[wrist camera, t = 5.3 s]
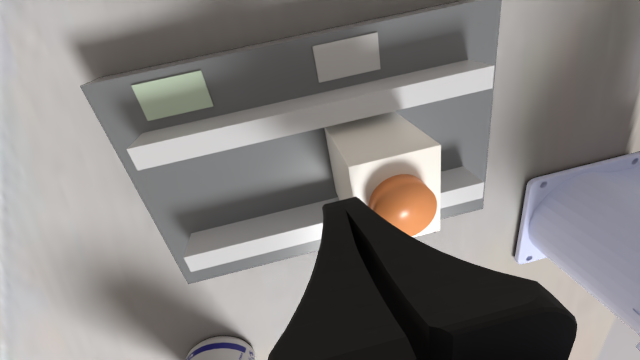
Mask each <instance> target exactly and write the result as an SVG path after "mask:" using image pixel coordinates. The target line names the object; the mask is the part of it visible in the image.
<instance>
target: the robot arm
mask: <svg viewBox="0 0 640 360" xmlns="http://www.w3.org/2000/svg"><path fill="white" fill-rule="evenodd" d="M541 183H542V184H541ZM322 211H323V229H322V236H321V242H320V247H319V251H318V255H317V259H316V263H315V266H314V269H313V272H312V275H311V278H310V281H309V283H308V285H307V288H306V290H305V293H304V295H303V297H302V299H301V302H300V304H299V305H298V307H297V309H296V311H295V313H294V315H293V317H292V319H291V321H290V322H289V324H288V326H287V328H286V329H285V331H284V332H283V334H282V336H281V337H280V339H279V340H278V342H277V343H276V345H275V346H274V348H273V349H272V351H271V353H270V354H269V357H268V360H568V358H569V355H570V352H571V349H572V346H573V343H574V341H575V338H576V332H577V323H576V319H575V317H574V316H573V315H572V314H571V313H570V312H569V311H568V310H567V309H566V308H565V307H564V306H563V305H562V304H561V303H560V302H559V301H558V300H557V299H556V298H555V297H554V296H553V295H552V294H551V293H550V292H549V291H547V290H546V289H545V288H544V287H543V286H542V285H540V284H539V283H538V282H537V281H533V280H529V279H525V278H521V277H517V276H513V275H509V274H505V273H501V272H497V271H494V270H490V269H487V268H484V267H481V266H478V265H475V264H472V263H469V262H466V261H463V260H461V259H458V258H456V257H453V256H451V255H448V254H446V253H443V252H441V251H439V250H436V249H434V248H432V247H430V246H428V245H426V244H424V243H422V242H420V241H418V240H416V239H415V238H413V237H411V236H409V235H408V234H406V233H405V232H403V231H401V230H400V229H398V228H397V227H395V226H394V225H392V224H391V223H389V222H388V221H387V220H385V219H384V218H382V217H381V216H380V215H378V214H377V213H376V212H375V211H373V210H372V209H371V208H370V207H368V206H367V205H366V204H365V203H364V202H362V201H361V200H360V199H359V198H357V197H352V198H348V199H344V200H340V201H336V202H332V203H328V204H324V205H323V207H322ZM543 258H549V259H550V260H551V261H552V262H553V263H554V264H556V265H557V266H558V267H559V268H560V269H562V270H563V271H564V272H565V273H566V274H567V275H569V276H570V277H571V278H572V279H573V280H574V281H576V282H577V283H578V284H579V285H580V286H582V287H583V288H584V289H585V290H586V291H587V292H589V293H590V294H591V295H592V296H593V297H594V298H596V299H597V300H598V301H599V302H600V303H602V304H603V305H604V306H605V307H606V308H607V309H609V310H610V311H611V312H612V313H613V314H614V315H616V316H617V317H618V318H619V319H620V320H622V321H623V322H624V323H625V324H626V325H627V326H629V327H630V328H631V329H632V330H633V331H635V332H636V333H637V334H638V335H639V336H640V151H639V152H635V153H631V154H627V155H623V156H619V157H616V158H612V159H608V160H604V161H600V162H596V163H592V164H588V165H584V166H580V167H576V168H572V169H568V170H564V171H560V172H556V173H552V174H548V175H544V176H540V177H536V178H533V179H531V180H530V181H529V182H528V184H527V188H526V194H525V200H524V206H523V212H522V218H521V224H520V230H519V236H518V242H517V248H516V254H515V261H516V262H517V263H518V264H524V263H528V262H532V261H536V260H539V259H543ZM636 348H637V349H638V350H639V351H640V342H639V343H638V344H637V345H636Z"/></svg>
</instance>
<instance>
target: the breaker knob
mask: <svg viewBox="0 0 640 360" xmlns="http://www.w3.org/2000/svg"><path fill="white" fill-rule="evenodd" d="M324 129H325V134H326V140H327V145H328V151H329V156H330V162H331V167H332V173H333V178H334V184H335V189H336V193H337V195H338V198H339V200H344V199H348V198H352V197H357V198H359V199H360V200H361V201H362V202H364V203H365V204H366V205H367V206H368V207H370V208H371V209H372V210H373V211H375V212H376V213H377V214H378V215H380V216H381V217H382V218H384V219H385V220H387V221H388V222H389V223H391V224H392V225H394V226H395V227H397V228H398V229H400V230H401V231H403V232H405V233H406V234H408V235H409V236H411V237H416V236H420V235H424V234H428V233H432V232H436V231H440V190H441V145H440V144H439V143H438V142H436V141H435V140H433V139H432V138H431V137H429V136H428V135H427V134H425V133H424V132H422V131H421V130H420V129H418V128H417V127H416V126H414V125H413V124H412V123H410V122H409V121H407V120H406V119H405V118H403V117H402V116H401V115H399V114H398V113H396V112H395V111H392V112H388V113H384V114H379V115H375V116H371V117H367V118H362V119H358V120H354V121H349V122H345V123H341V124H336V125H332V126H328V127H324Z"/></svg>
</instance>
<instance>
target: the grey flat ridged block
mask: <svg viewBox="0 0 640 360" xmlns="http://www.w3.org/2000/svg"><path fill="white" fill-rule="evenodd" d="M501 1H502V0H462V1H457V2H453V3H448V4H443V5H439V6H434V7H429V8H425V9H420V10H415V11H411V12H406V13H401V14H396V15H392V16H387V17H382V18H378V19H373V20H368V21H364V22H359V23H354V24H350V25H345V26H340V27H336V28H331V29H326V30H321V31H317V32H312V33H307V34H303V35H298V36H293V37H289V38H284V39H279V40H275V41H270V42H265V43H261V44H256V45H251V46H246V47H242V48H237V49H232V50H228V51H223V52H218V53H214V54H209V55H204V56H200V57H195V58H190V59H186V60H181V61H176V62H171V63H167V64H162V65H157V66H153V67H148V68H143V69H139V70H134V71H129V72H125V73H120V74H115V75H111V76H106V77H101V78H99V79H96V80H94V81H91V82H89V83H86V84H84V85H81V86H80V87H81V89H82V91H83V93H84V95H85V96H86V98H87V100H88V102H89V104H90V105H91V107H92V109H93V111H94V113H95V115H96V116H97V118H98V120H99V122H100V124H101V126H102V127H103V129H104V131H105V133H106V135H107V137H108V138H109V140H110V142H111V144H112V146H113V148H114V149H115V151H116V153H117V155H118V157H119V158H120V160H121V162H122V164H123V166H124V168H125V169H126V171H127V173H128V175H129V177H130V179H131V180H132V182H133V184H134V186H135V188H136V190H137V191H138V193H139V195H140V197H141V199H142V201H143V202H144V204H145V206H146V208H147V210H148V211H149V213H150V215H151V217H152V219H153V221H154V222H155V224H156V226H157V228H158V230H159V232H160V233H161V235H162V237H163V239H164V241H165V243H166V244H167V246H168V248H169V250H170V252H171V254H172V255H173V257H174V259H175V261H176V263H177V264H178V266H179V268H180V270H181V272H182V274H183V275H184V277H185V279H186V281H187V283H188V284H191V283H195V282H199V281H203V280H206V279H210V278H214V277H218V276H222V275H226V274H230V273H234V272H238V271H242V270H245V269H249V268H253V267H257V266H261V265H265V264H269V263H273V262H277V261H281V260H284V259H288V258H292V257H296V256H300V255H304V254H308V253H312V252H316V251H319V247H320V242H321V236H322V229H323V211H322V207H323V205H324V204H328V203H332V202H336V201H340V200H339V198H338V195H337V193H336V189H335V184H334V178H333V173H332V167H331V162H330V156H329V151H328V145H327V140H326V134H325V129H324V127H328V126H332V125H336V124H341V123H345V122H349V121H354V120H358V119H362V118H367V117H371V116H375V115H379V114H384V113H388V112H392V111H395V112H396V113H398V114H399V115H401V116H402V117H403V118H405V119H406V120H407V121H409V122H410V123H412V124H413V125H414V126H416V127H417V128H418V129H420V130H421V131H422V132H424V133H425V134H427V135H428V136H429V137H431V138H432V139H433V140H435V141H436V142H438V143H439V144H440V145H441V190H440V220H441V219H444V218H448V217H452V216H456V215H460V214H464V213H468V212H472V211H476V210H480V209H483V201H484V189H485V178H486V167H487V156H488V145H489V134H490V123H491V112H492V101H493V90H494V79H495V67H496V56H497V45H498V34H499V23H500V12H501Z"/></svg>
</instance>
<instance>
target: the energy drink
mask: <svg viewBox="0 0 640 360" xmlns="http://www.w3.org/2000/svg"><path fill="white" fill-rule="evenodd" d="M186 360H255V353H254V351H253V349H252V348H251V346H250V345H248V344H247V343H246V342H245V341H243V340H241V339H239V338H236V337H231V336H217V337H212V338H209V339H206V340H204V341H202V342H200V343H199V344H197V345H196V346H195V347H194V348H192V350H191V351H190V352H189V353H188V355H187V357H186Z"/></svg>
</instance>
